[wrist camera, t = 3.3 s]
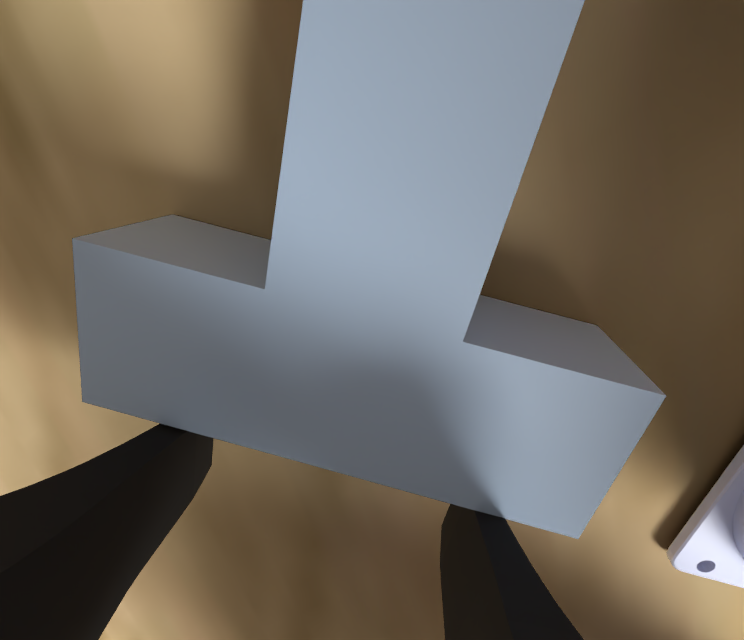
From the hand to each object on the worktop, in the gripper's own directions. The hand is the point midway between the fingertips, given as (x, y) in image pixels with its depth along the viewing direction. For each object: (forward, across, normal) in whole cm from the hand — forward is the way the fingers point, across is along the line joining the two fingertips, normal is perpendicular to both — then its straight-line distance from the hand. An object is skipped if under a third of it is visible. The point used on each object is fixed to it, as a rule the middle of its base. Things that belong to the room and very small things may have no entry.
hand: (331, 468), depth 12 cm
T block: (+2, 0, -7) cm, 8 cm away
